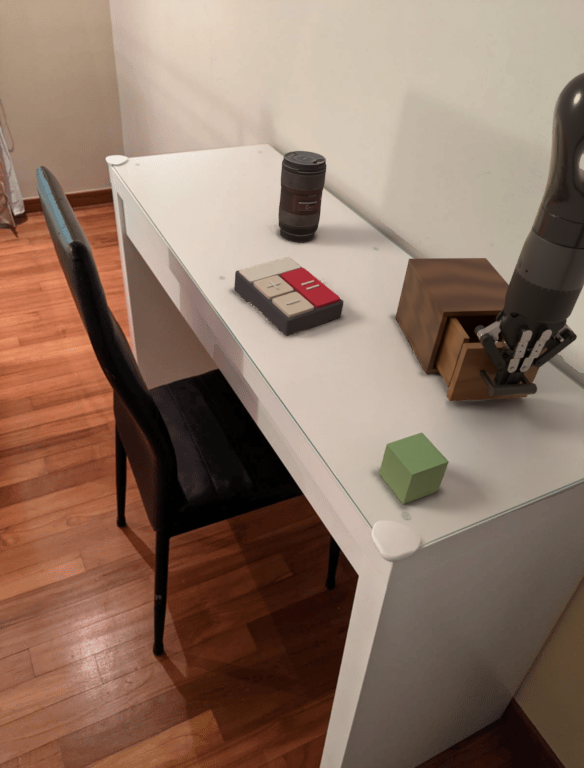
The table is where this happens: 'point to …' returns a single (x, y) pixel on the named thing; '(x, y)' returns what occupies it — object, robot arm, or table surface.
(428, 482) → the block
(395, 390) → the table surface
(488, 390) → the drawer
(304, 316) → the calculator
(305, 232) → the camera lens
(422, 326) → the cabinet
